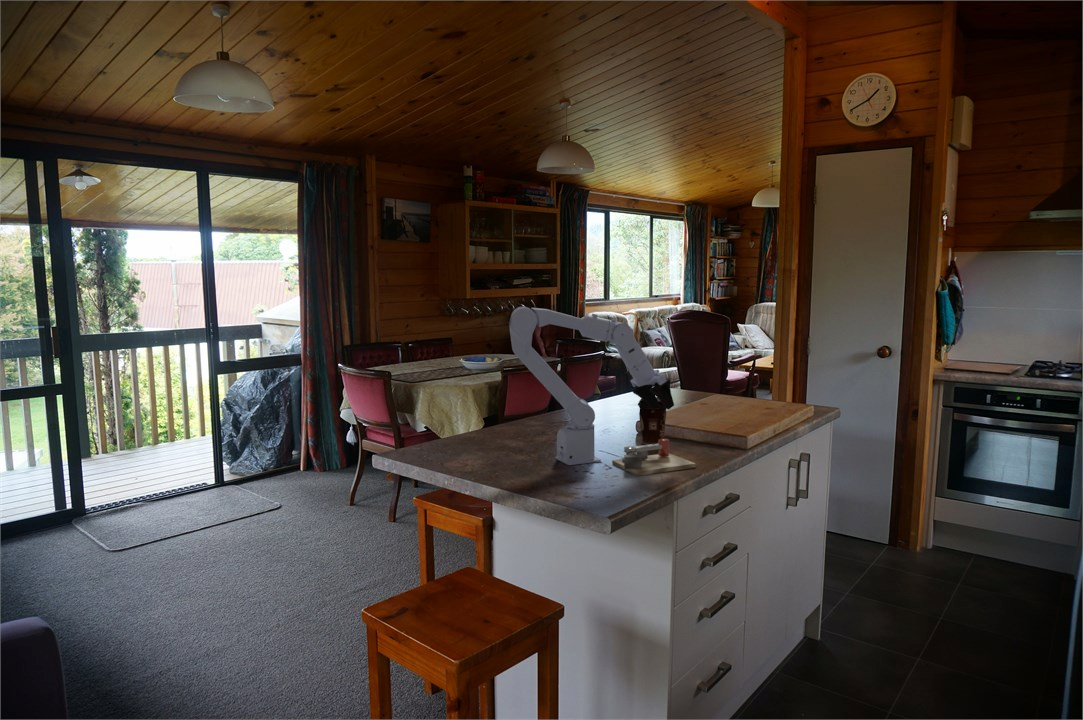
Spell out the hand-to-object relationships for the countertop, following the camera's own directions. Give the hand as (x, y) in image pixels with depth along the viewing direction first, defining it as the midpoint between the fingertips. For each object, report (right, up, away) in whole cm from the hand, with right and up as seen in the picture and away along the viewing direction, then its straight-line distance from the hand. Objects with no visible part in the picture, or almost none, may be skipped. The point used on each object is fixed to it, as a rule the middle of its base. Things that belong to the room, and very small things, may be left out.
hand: (663, 407), depth 184 cm
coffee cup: (0, -12, +18) cm, 21 cm away
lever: (-5, -13, -4) cm, 14 cm away
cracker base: (-4, -14, -7) cm, 16 cm away
